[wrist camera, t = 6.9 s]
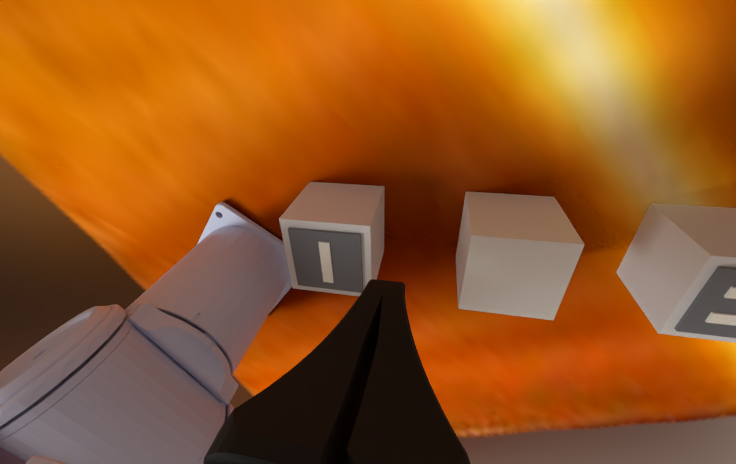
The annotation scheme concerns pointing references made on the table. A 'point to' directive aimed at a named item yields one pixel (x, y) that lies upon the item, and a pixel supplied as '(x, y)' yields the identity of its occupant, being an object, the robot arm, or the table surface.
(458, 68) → the table surface
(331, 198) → the marked block 1
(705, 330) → the marked block 2
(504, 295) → the plain block
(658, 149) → the table surface
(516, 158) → the table surface
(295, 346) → the table surface
